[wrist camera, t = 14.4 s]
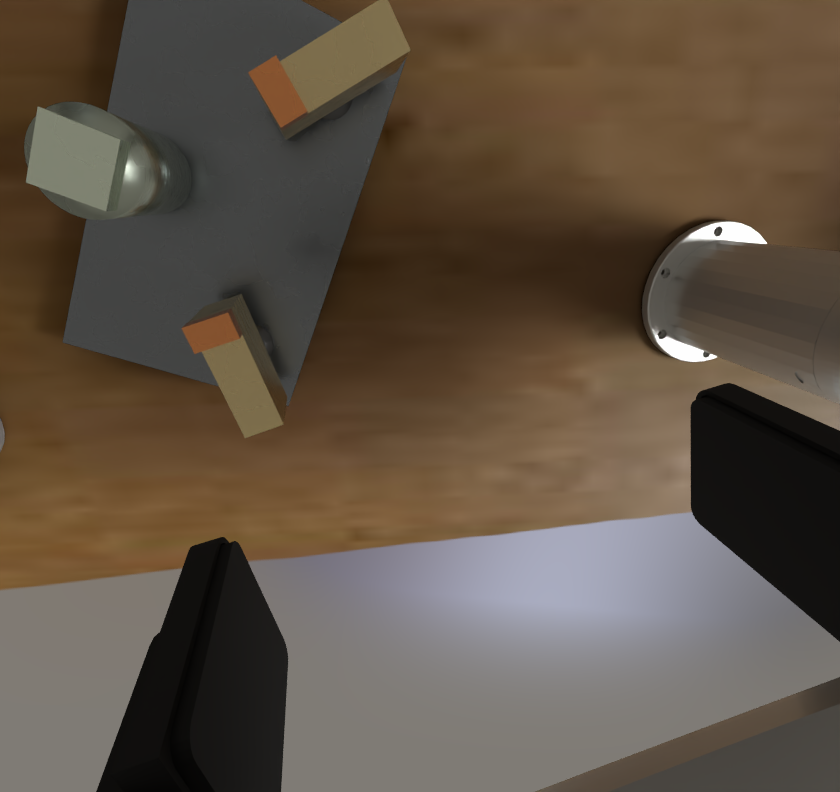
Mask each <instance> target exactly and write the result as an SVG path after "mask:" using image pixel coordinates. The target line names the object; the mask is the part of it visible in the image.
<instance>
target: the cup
mask: <svg viewBox="0 0 840 792" xmlns="http://www.w3.org/2000/svg"><path fill="white" fill-rule="evenodd" d="M4 436H5V431H4V428H3V424H2V421H1V419H0V451H1V449H2V447H3V445H4Z"/></svg>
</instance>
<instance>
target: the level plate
mask: <svg viewBox="0 0 840 792" xmlns="http://www.w3.org/2000/svg"><path fill="white" fill-rule="evenodd" d="M341 23H342V22H340V21H338V20H337V19H335V18H333V17H331V16H329V15H327V14H325V13H324V12H322V11H320V10H318V9H316V8H314V7H312V6H311V5H309V4H307V3H305V2H303V1H301V0H129V1H128V6H127V11H126V16H125V21H124V27H123V32H122V37H121V42H120V47H119V52H118V58H117V63H116V68H115V73H114V78H113V84H112V89H111V94H110V99H109V104H108V110H107V111H105V110H103V109H100V108H98V107H95V106H92V105H89V104H85V103H81V102H62V103H57V104H54V105H51V106H49V107H47V108H45V109H44V108H41V107H38V108H37V114H36V117H35V118H34V119H33V120H32V122H31V123H30V125H29V127H28V130H27V132H26V136H25V143H24V152H25V159H26V163H27V166H28V172H27V178H26V183H29V184H32V185H34V186H37V187H39V189H40V190H41V191H42V193H43V194H44V195H45V196H46V197H47V198H48V199H49V200H51V201H52V202H53V203H54V204H55V205H57V206H58V207H60V208H61V209H63V210H65V211H67V212H68V213H71V214H73V215H75V216H78V217H82V218H86V224H85V229H84V234H83V239H82V244H81V250H80V255H79V260H78V265H77V270H76V276H75V281H74V286H73V291H72V296H71V302H70V307H69V312H68V317H67V322H66V327H65V333H64V338H63V343H67V344H70V345H74V346H77V347H81V348H84V349H88V350H91V351H95V352H98V353H102V354H106V355H109V356H113V357H116V358H120V359H123V360H127V361H130V362H134V363H137V364H141V365H145V366H148V367H152V368H155V369H159V370H162V371H166V372H169V373H173V374H176V375H180V376H184V377H187V378H191V379H194V380H198V381H201V382H205V383H208V384H212V385H215V386H219V385H218V383H217V381H216V379H215V377H214V375H213V373H212V371H211V369H210V367H209V365H208V363H207V361H206V359H205V358H204V356H203V354H202V352H199V353H196V354H194V352H193V350H192V348H191V346H190V344H189V342H188V340H187V338H186V336H185V334H184V332H183V330H182V327H183V326H184V325H185V324H186V323H188V322H189V321H190V320H191V319H192V318H193V317H194V316H195V315H196V314H197V313H198V312H199V311H200V310H201V309H202V308H203V307H204V306H206V305H209V304H212V303H215V302H218V301H221V300H224V299H227V298H230V297H233V296H237V295H240V294H242V296H243V298H244V301H245V303H246V305H247V307H248V310H249V312H250V314H251V316H252V319H253V321H254V323H255V325H256V328H257V330H258V332H259V334H260V337H261V338H262V339H263V341H264V343H265V348H266V350H267V352H268V355H269V357H270V359H271V361H272V364H273V366H274V368H275V370H276V372H277V375H278V377H279V379H280V381H281V384H282V386H283V388H284V390H285V393H286V395H287V403H286V406H289V403H290V400H291V397H292V394H293V391H294V388H295V385H296V382H297V379H298V376H299V373H300V370H301V367H302V364H303V361H304V359H305V356H306V353H307V350H308V347H309V344H310V341H311V338H312V335H313V332H314V329H315V326H316V323H317V320H318V317H319V314H320V311H321V308H322V305H323V302H324V299H325V297H326V294H327V291H328V288H329V285H330V282H331V279H332V276H333V273H334V270H335V267H336V264H337V261H338V258H339V255H340V252H341V249H342V246H343V243H344V240H345V237H346V234H347V232H348V229H349V226H350V223H351V220H352V217H353V214H354V211H355V208H356V205H357V202H358V199H359V196H360V193H361V190H362V187H363V184H364V181H365V178H366V175H367V172H368V170H369V167H370V164H371V161H372V158H373V155H374V152H375V149H376V146H377V143H378V140H379V137H380V134H381V131H382V128H383V125H384V122H385V119H386V116H387V113H388V110H389V108H390V105H391V102H392V99H393V96H394V93H395V90H396V87H397V84H398V81H399V78H400V75H401V72H402V69H403V66H404V63H405V60H406V58H405V60H404V61H403V63H402V64H401V66H400V67H399V69H398V70H397V72H396V73H394V74H393V75H391V76H389V77H388V78H386V79H385V80H383V81H381V82H380V83H378V84H376V85H375V86H373V87H371V88H370V89H368V90H367V91H365V92H363V93H362V94H360V95H358V96H357V97H355V98H354V99H352V100H350V101H349V102H347V103H345V104H344V105H342V106H341V107H339V108H337V109H336V110H334V111H332V112H331V113H329V114H328V115H326V116H324V117H323V118H321V119H319V120H318V121H316V122H315V123H313V124H311V125H310V126H308V127H306V128H305V129H303V130H302V131H300V132H298V133H297V134H295V135H293V136H292V137H290V138H289V139H287V140H286V139H285V137H284V136H283V134H282V132H281V130H280V129H279V127H278V125H277V124H276V122H275V120H274V119H273V117H272V115H271V114H270V112H269V110H268V109H267V107H266V105H265V103H264V102H263V100H262V98H261V97H260V95H259V93H258V91H257V89H256V87H255V85H254V83H253V81H252V79H251V77H250V75H249V73H248V72H250V71H251V70H253V69H254V68H256V67H258V66H259V65H261V64H263V63H264V62H266V61H267V60H269V59H271V58H272V57H274V56H275V55H276V56H277V58H278V60H279V61H281V60H283V59H284V58H286V57H288V56H289V55H291V54H293V53H294V52H296V51H297V50H299V49H301V48H302V47H304V46H306V45H307V44H309V43H310V42H312V41H314V40H315V39H317V38H318V37H320V36H322V35H323V34H325V33H327V32H328V31H330V30H331V29H333V28H335V27H336V26H338V25H339V24H341Z"/></svg>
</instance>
